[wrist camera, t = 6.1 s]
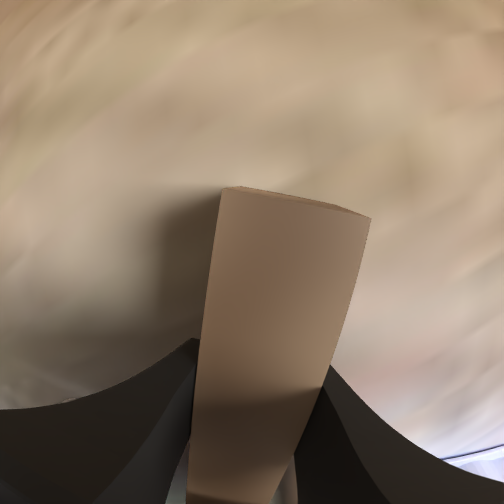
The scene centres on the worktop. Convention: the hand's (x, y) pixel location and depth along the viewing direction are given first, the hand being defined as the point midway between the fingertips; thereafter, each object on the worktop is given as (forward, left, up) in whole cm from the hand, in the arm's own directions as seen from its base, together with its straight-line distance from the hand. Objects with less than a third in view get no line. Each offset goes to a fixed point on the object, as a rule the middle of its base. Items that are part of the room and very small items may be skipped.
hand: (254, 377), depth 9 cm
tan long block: (0, +3, -2) cm, 3 cm away
